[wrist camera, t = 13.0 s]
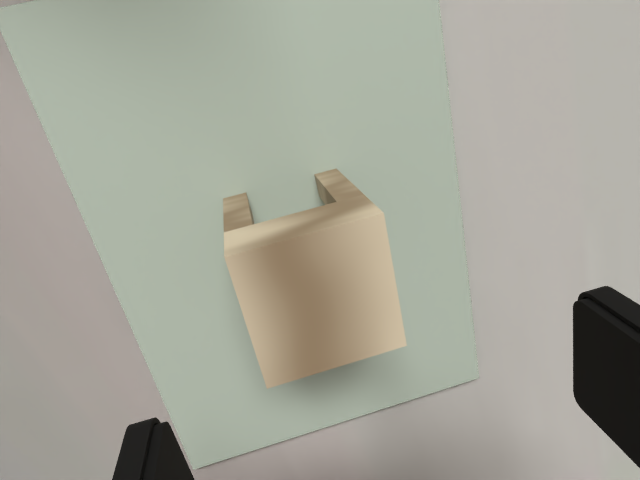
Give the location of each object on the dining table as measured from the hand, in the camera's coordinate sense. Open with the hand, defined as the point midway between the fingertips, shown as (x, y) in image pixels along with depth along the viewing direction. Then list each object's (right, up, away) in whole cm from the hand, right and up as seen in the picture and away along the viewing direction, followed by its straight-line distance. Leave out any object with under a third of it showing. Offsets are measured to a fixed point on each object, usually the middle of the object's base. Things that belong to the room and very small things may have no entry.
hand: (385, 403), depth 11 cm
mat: (-3, +4, +11) cm, 12 cm away
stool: (-3, +4, +11) cm, 12 cm away
